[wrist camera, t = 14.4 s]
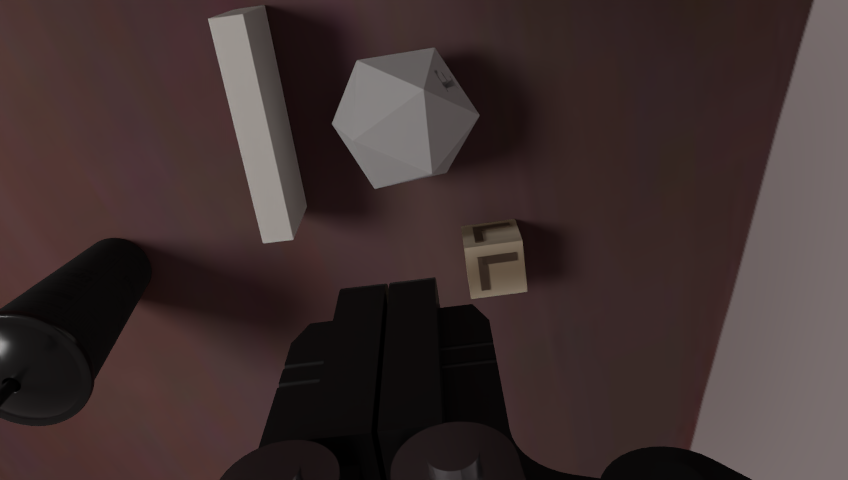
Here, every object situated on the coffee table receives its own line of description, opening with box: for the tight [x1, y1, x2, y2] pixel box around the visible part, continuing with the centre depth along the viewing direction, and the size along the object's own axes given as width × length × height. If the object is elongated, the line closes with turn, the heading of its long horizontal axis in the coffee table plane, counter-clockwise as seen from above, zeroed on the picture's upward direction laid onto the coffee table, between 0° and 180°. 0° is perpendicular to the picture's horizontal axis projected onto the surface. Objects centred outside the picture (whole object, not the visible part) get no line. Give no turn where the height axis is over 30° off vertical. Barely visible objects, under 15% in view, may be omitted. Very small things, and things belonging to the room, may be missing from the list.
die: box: [332, 48, 480, 189], centre depth 43 cm, size 8×9×10 cm
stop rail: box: [208, 5, 307, 243], centre depth 44 cm, size 14×2×6 cm, turn 7°
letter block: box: [461, 219, 527, 299], centre depth 49 cm, size 4×4×4 cm
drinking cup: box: [0, 238, 151, 426], centre depth 42 cm, size 8×8×20 cm
